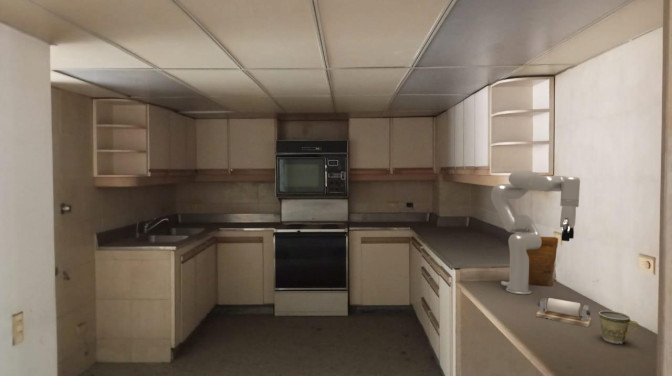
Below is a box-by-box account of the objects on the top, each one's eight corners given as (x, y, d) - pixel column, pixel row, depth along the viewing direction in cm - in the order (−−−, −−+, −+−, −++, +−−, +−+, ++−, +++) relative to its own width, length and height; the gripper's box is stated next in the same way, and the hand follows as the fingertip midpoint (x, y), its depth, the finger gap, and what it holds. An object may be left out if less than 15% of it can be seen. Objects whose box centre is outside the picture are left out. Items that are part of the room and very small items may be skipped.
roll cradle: (536, 316, 190) (536, 301, 189) (540, 311, 197) (541, 296, 196) (588, 327, 177) (588, 310, 177) (591, 321, 185) (591, 305, 184)
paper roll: (546, 312, 188) (547, 299, 188) (549, 309, 193) (550, 296, 193) (578, 319, 181) (578, 305, 181) (580, 315, 186) (580, 301, 186)
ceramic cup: (593, 339, 165) (594, 313, 164) (604, 333, 171) (605, 308, 170) (632, 350, 154) (633, 323, 154) (642, 344, 160) (643, 318, 160)
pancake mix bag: (557, 287, 238) (559, 238, 237) (520, 284, 244) (522, 235, 243) (555, 284, 244) (557, 236, 243) (519, 281, 250) (520, 234, 249)
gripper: (564, 201, 209) (562, 236, 210) (556, 203, 195) (554, 240, 196) (581, 202, 204) (579, 238, 205) (575, 205, 190) (573, 243, 191)
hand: (567, 239), depth 201 cm, fingers open, 9 cm apart
